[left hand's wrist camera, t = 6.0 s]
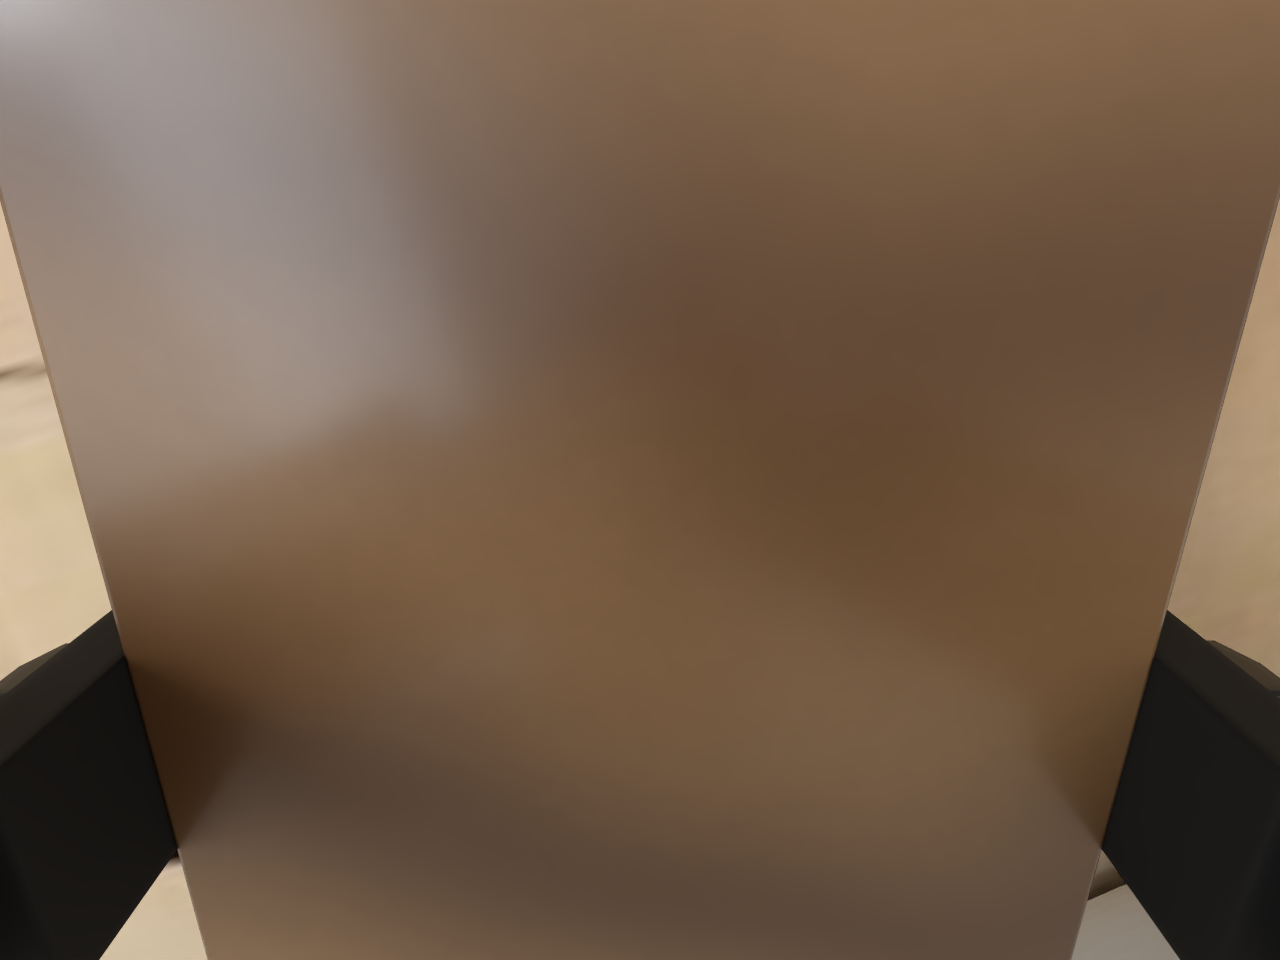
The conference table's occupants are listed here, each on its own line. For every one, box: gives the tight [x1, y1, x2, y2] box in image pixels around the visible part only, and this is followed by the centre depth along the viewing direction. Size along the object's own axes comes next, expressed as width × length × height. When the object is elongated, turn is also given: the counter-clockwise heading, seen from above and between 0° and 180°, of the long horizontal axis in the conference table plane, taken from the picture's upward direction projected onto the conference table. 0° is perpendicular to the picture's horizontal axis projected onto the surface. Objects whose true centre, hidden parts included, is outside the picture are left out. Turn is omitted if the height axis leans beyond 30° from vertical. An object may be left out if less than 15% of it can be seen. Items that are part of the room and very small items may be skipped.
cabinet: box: [0, 0, 1280, 960], centre depth 12 cm, size 20×11×12 cm, turn 0°
